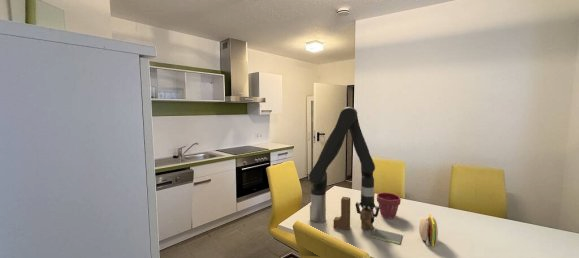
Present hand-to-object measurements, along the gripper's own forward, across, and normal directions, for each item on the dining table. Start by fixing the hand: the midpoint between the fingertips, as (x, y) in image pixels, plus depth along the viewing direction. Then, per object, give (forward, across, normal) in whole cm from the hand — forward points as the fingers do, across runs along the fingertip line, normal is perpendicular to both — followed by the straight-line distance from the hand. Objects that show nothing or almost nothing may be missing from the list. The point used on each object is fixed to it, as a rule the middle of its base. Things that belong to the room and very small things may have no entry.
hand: (367, 221), depth 142 cm
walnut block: (+3, 0, 0) cm, 3 cm away
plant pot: (+4, +8, +23) cm, 25 cm away
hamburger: (+4, +31, +2) cm, 31 cm away
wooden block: (+4, -13, -7) cm, 15 cm away
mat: (+3, +12, -5) cm, 13 cm away
